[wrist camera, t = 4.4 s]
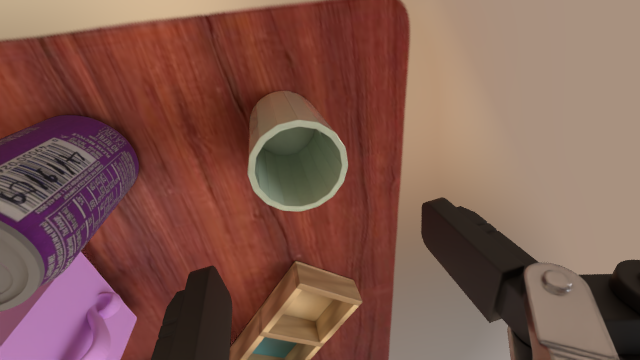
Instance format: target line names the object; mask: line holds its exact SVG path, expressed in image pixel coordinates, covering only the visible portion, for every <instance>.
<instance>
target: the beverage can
mask: <svg viewBox="0 0 640 360" xmlns="http://www.w3.org/2000/svg"><path fill="white" fill-rule="evenodd" d="M138 172H139V163H138V159H137V156H136V153H135V151H134V149H133V148H132V146H131V145H130V143H129V142H128V141H127V140H126V139H125V138H124V137H123V136H122V135H121V134H120V133H119V132H117V131H116V130H115V129H113V128H112V127H110V126H108V125H106V124H104V123H102V122H100V121H97V120H95V119H92V118H88V117H83V116H77V115H62V116H56V117H52V118H49V119H47V120H44V121H42V122H40V123H37V124H35V125H32V126H30V127H28V128H25V129H23V130H21V131H18V132H16V133H14V134H11V135H9V136H6V137H4V138H2V139H0V312H1V311H5V310H8V309H11V308H13V307H15V306H17V305H19V304H21V303H23V302H24V301H26V300H27V299H28V298H30V297H31V296H32V295H33V294H34V292H35V291H36V290H37V289H38V287H40V286H42V285H44V284H46V283H48V282H50V281H52V280H54V279H55V278H57V277H58V276H60V275H61V274H62V273H63V272H64V271H65V270H66V269H67V268H68V267H69V266H70V264H71V263H72V262H73V260H74V259H75V258H76V257H77V255H78V254H79V253H80V252H81V250H82V249H83V248H84V246H85V245H86V244H87V243H88V241H89V240H90V239H91V238H92V236H93V235H94V234H95V232H96V231H97V230H98V229H99V227H100V226H101V225H102V224H103V222H104V221H105V220H106V218H107V217H108V216H109V215H110V213H111V212H112V211H113V210H114V208H115V207H116V206H117V205H118V203H119V202H120V201H121V199H122V198H123V197H124V196H125V194H126V193H127V192H128V191H129V189H130V188H131V187H132V185H133V184H134V183H135V181H136V179H137V176H138Z"/></svg>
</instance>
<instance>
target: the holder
mask: <svg viewBox="0 0 640 360" xmlns="http://www.w3.org/2000/svg"><path fill="white" fill-rule="evenodd" d="M361 303H362V300H361V297H360V295H359V292H358V290H357V287H356V285H355V283H354V280H352V279H349V278H346V277H343V276H340V275H337V274H334V273H331V272H328V271H325V270H322V269H319V268H316V267H313V266H310V265H307V264H304V263H301V262H298V261H295V262H294V264H293V265H292V266H291V268H290V269H289V270H288V272H287V273H286V274H285V276H284V277H283V278H282V280H281V281H280V282H279V284H278V285H277V286H276V287H275V289H274V290H273V291H272V293H271V294H270V295H269V297H268V298H267V299H266V301H265V302H264V303H263V305H262V306H261V307H260V309H259V310H258V311H257V313H256V314H255V315H254V317H253V318H252V319H251V321H250V322H249V323H248V325H247V326H246V327H245V329H244V330H243V331H242V333H241V334H240V335H239V337H238V338H237V339H236V341H235V342H234V343H233V345H232V346H231V347H230V355H229V360H310V359H311V358H312V357H313V356H314V354H315V353H316V352H317V351H318V350H319V349H320V348H321V347H322V346H323V345H324V343H325V342H326V341H327V340H328V339H329V338H330V337H331V336H332V335H333V334H334V333H335V331H336V330H337V329H338V328H339V327H340V326H341V325H342V324H343V323H344V322H345V321H346V319H347V318H348V317H349V316H350V315H351V314H352V313H353V312H354V311H355V310H356V308H357V307H358V306H359V305H360V304H361Z"/></svg>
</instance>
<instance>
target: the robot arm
mask: <svg viewBox="0 0 640 360" xmlns="http://www.w3.org/2000/svg"><path fill="white" fill-rule="evenodd" d="M421 233H422V238H423V241H424V243H425V245H426V247H427V248H428V249H429V251H430V252H431V253H432V254H433V255H434V257H435V258H436V259H437V260H438V261H439V263H440V264H441V265H442V266H443V267H444V268H445V270H446V271H447V272H448V273H449V275H450V276H451V277H452V278H453V279H454V281H455V282H456V283H457V284H458V285H459V287H460V288H461V289H462V290H463V291H464V293H465V294H466V295H467V296H468V297H469V299H470V300H471V301H472V302H473V303H474V305H475V306H476V307H477V308H478V309H479V310H480V312H481V313H482V314H483V315H484V317H485V318H486V319H487V320H488V321H489V323H491V322H493V321H496V320H499V319H503V320H504V321H505V322H506V323H507V324H508V329H507V330H508V331H507V332H508V340H509V348H510V356H511V360H640V260H626V261H623V262H620V263H619V264H618V265H617V266H616V268H615V270H614V272H613V274H597V275H596V274H594V275H577V274H576V273H574V272H573V271H571V270H569V269H567V268H565V267H562V266H560V265H556V264H552V263H539V262H538V261H536V260H535V259H534V258H532V257H531V256H530V255H529V254H527V253H526V252H525V251H524V250H522V249H521V248H520V247H518V246H517V245H516V244H515V243H513V242H512V241H511V240H510V239H508V238H507V237H506V236H504V235H503V234H502V233H501V232H499V231H497V230H496V228H494V227H493V226H492V225H491V224H489V223H487V221H485V220H484V219H483V218H482V217H480V216H479V215H478V214H477V213H475V212H473V211H470V210H468V209H466V208H464V207H461V206H460V207H455V206H454V205H453V204H452V203H450V202H449V201H448V200H447V199H445V198H438V199H435V200H432V201H428V202H425V203H423V205H422V231H421ZM231 323H232V301H231V297H230V294H229V291H228V290H227V288H226V286H225V284H224V282H223V280H222V279H221V277H220V275H219V273H218V271H217V269H216V268H215V267H214V266H209V267H206V268H202V269H199V270H196V271H192V272H190V274H189V276H188V279H187V283H186V287H185V290H182V291H179V292H177V293H176V295H175V296H174V298H173V299H172V301H171V302H170V304H169V305H168V306H167V309H166V312H165V316H164V319H163V322H162V324H163V326H161V329H160V332H159V335H158V337H159V339H158V340H157V342H156V345H155V349H154V352H153V355H152V358H151V360H229V355H230V339H231Z"/></svg>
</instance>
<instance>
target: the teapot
mask: <svg viewBox="0 0 640 360" xmlns="http://www.w3.org/2000/svg"><path fill="white" fill-rule="evenodd" d="M136 320H137V317H136V316H135V315H134V314H133V313H132V311H131V310H130V309H129V308H128V307H127V306H126V304H125V303H124V302H123V301H122V300H121V298H120V296H119V295H118V294H116V293H115V291H114V290H113V289H112V288H111V287H110V285H109V284H108V283H107V282H106V281H105V280H104V278H103V277H102V276H101V275H100V274H99V273H98V271H97V270H96V269H95V268H94V267H93V265H92V264H91V263H90V262H89V261H88V259H87V258H86V257H85V256H84V255H83V254H82V252H80V253H79V254H78V255H77V257H76V258H75V259H74V260H73V262H72V263H71V264H70V266H69V267H68V268H67V269H66V270H65V271H64V272H63V273H62V274H61V275H60V276H58V277H57V278H55V279H54V280H52V281H50V282H48V283H46V284H44V285H42V286H40V287H38V289H37V290H36V291H35V292H34V294H33V295H32V296H31V297H30V298H28V299H27V300H26V301H24V302H23V303H21V304H19V305H17V306H15V307H13V308H11V309H8V310H5V311H1V312H0V360H120V359H121V357H122V354H123V352H124V349H125V347H126V344H127V342H128V339H129V337H130V335H131V332H132V330H133V327H134V325H135V322H136Z"/></svg>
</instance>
